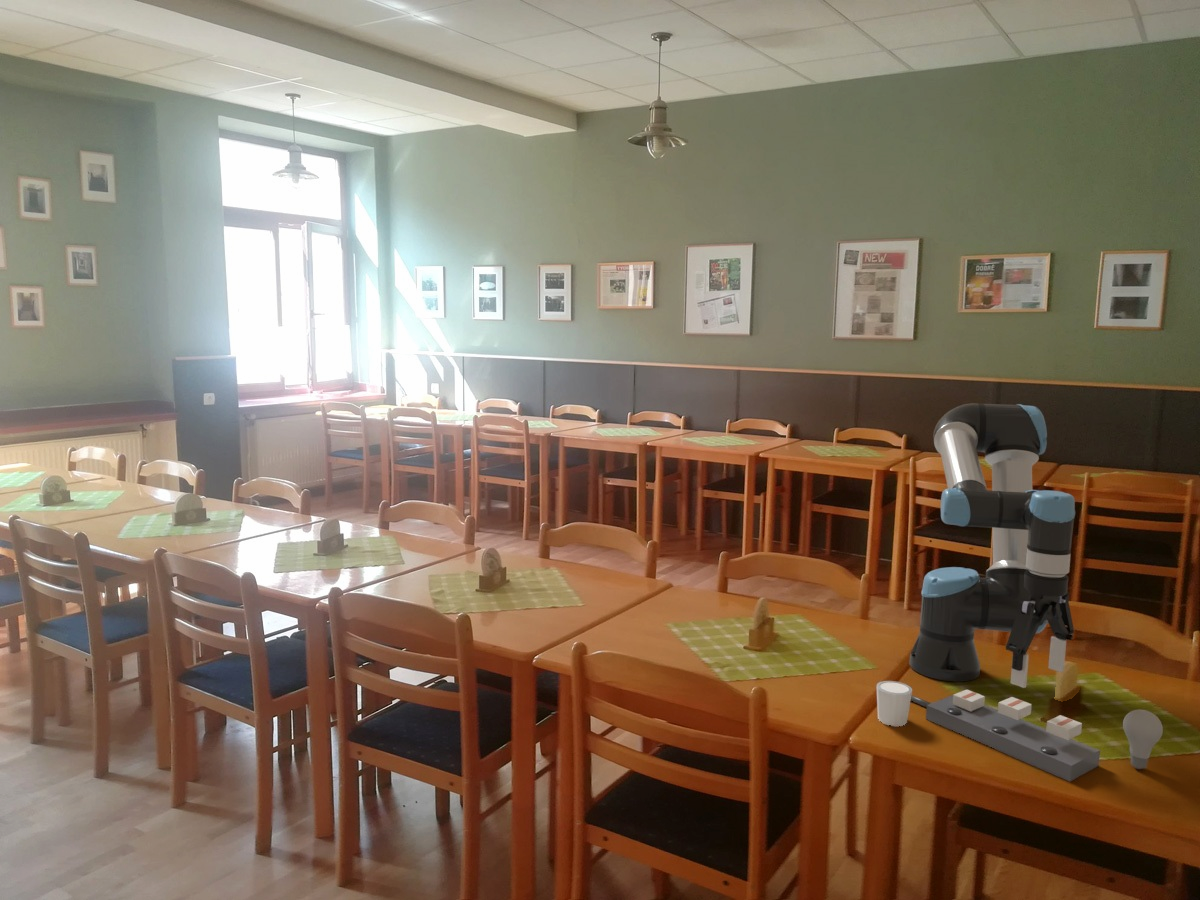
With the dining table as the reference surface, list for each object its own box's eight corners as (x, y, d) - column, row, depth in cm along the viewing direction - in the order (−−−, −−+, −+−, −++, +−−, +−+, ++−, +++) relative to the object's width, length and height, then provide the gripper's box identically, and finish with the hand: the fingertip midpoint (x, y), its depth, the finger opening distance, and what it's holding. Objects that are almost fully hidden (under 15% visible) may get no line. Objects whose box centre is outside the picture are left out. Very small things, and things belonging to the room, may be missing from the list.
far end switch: (1059, 725, 164) (1060, 714, 163) (1081, 733, 161) (1082, 722, 160) (1046, 731, 161) (1047, 720, 161) (1067, 740, 158) (1069, 729, 158)
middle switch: (1010, 706, 172) (1011, 696, 171) (1030, 714, 168) (1031, 703, 168) (997, 712, 169) (998, 702, 169) (1017, 720, 166) (1018, 709, 165)
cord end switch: (966, 698, 180) (966, 689, 179) (984, 705, 176) (984, 696, 176) (952, 704, 177) (953, 694, 177) (970, 711, 174) (971, 701, 173)
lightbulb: (1111, 760, 162) (1116, 703, 160) (1142, 759, 162) (1149, 703, 160) (1133, 777, 156) (1139, 719, 154) (1166, 776, 156) (1172, 718, 154)
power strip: (914, 690, 191) (915, 676, 191) (1098, 765, 160) (1100, 748, 159) (885, 701, 185) (886, 686, 185) (1069, 781, 154) (1071, 764, 153)
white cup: (912, 729, 173) (914, 695, 172) (876, 726, 174) (878, 692, 173) (907, 714, 180) (909, 681, 179) (872, 711, 181) (874, 678, 180)
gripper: (1061, 558, 179) (1052, 658, 182) (991, 577, 165) (982, 685, 168) (1099, 566, 173) (1089, 670, 176) (1030, 587, 159) (1020, 699, 162)
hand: (1037, 677), depth 172 cm, fingers open, 13 cm apart
